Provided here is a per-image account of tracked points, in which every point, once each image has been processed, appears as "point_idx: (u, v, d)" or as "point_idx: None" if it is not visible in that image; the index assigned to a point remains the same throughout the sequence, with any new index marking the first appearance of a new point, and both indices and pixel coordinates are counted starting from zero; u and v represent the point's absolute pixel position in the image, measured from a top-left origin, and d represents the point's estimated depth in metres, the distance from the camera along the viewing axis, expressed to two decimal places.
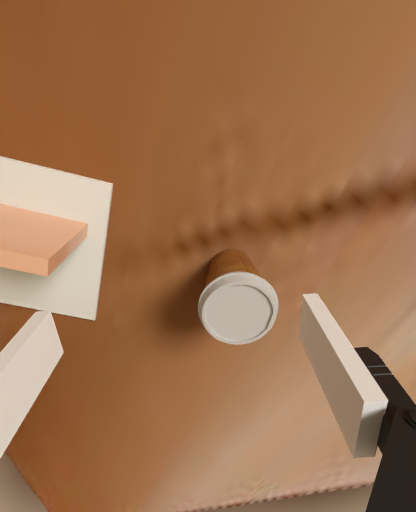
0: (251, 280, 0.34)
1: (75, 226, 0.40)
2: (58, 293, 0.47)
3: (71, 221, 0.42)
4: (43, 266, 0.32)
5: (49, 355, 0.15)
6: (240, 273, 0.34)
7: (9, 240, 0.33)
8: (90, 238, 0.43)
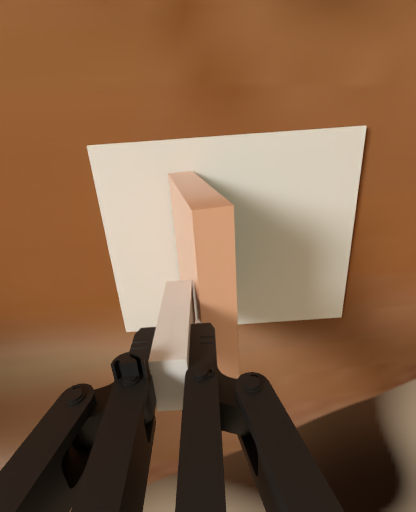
0: None
1: (171, 190, 0.23)
2: (314, 201, 0.26)
3: (171, 199, 0.25)
4: (211, 217, 0.14)
5: None
6: None
7: (193, 284, 0.18)
8: (192, 164, 0.25)
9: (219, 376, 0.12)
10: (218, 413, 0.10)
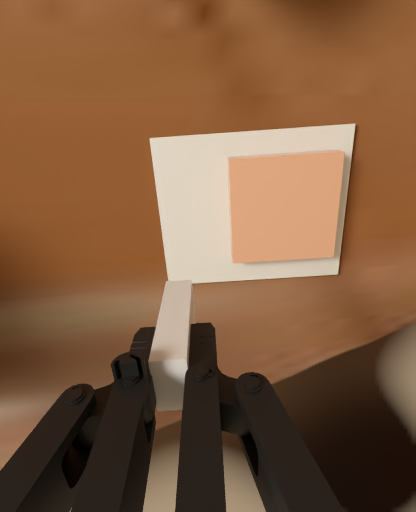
0: None
1: (248, 167, 0.32)
2: None
3: (235, 178, 0.33)
4: None
5: None
6: None
7: (319, 200, 0.34)
8: (226, 152, 0.34)
9: (219, 376, 0.12)
10: (218, 413, 0.10)
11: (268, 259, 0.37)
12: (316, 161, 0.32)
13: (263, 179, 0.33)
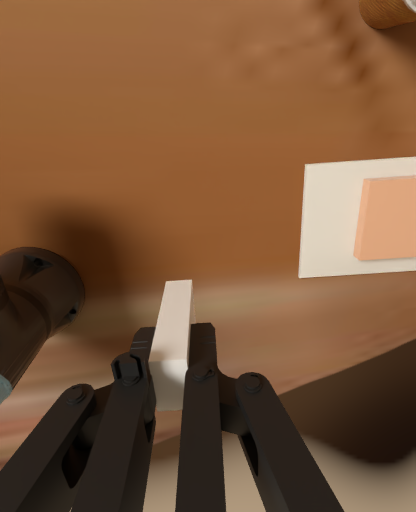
0: None
1: (384, 187, 0.43)
2: None
3: (373, 195, 0.43)
4: None
5: None
6: None
7: None
8: (362, 175, 0.44)
9: (219, 376, 0.12)
10: (218, 413, 0.10)
11: (387, 257, 0.47)
12: None
13: (393, 196, 0.43)
